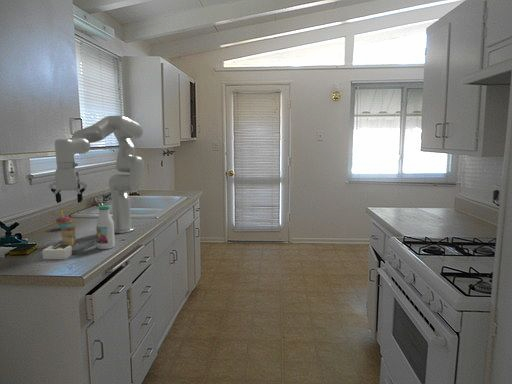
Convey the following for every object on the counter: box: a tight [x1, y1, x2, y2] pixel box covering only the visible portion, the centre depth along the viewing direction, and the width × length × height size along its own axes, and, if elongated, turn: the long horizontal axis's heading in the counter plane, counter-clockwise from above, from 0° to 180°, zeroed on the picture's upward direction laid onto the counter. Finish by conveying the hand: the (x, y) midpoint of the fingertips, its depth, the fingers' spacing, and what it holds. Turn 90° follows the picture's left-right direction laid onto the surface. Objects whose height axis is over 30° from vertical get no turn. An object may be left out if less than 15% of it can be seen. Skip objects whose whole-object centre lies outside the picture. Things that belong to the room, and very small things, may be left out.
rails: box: [53, 244, 79, 249], centre depth 178 cm, size 8×9×1 cm
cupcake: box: [55, 208, 73, 230], centre depth 223 cm, size 9×8×12 cm
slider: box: [60, 226, 77, 246], centre depth 181 cm, size 4×5×8 cm
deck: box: [52, 240, 94, 255], centre depth 182 cm, size 16×15×2 cm
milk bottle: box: [95, 204, 116, 250], centre depth 184 cm, size 8×8×20 cm
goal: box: [42, 245, 73, 260], centre depth 171 cm, size 7×9×4 cm
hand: (69, 202), depth 182 cm, fingers open, 9 cm apart
